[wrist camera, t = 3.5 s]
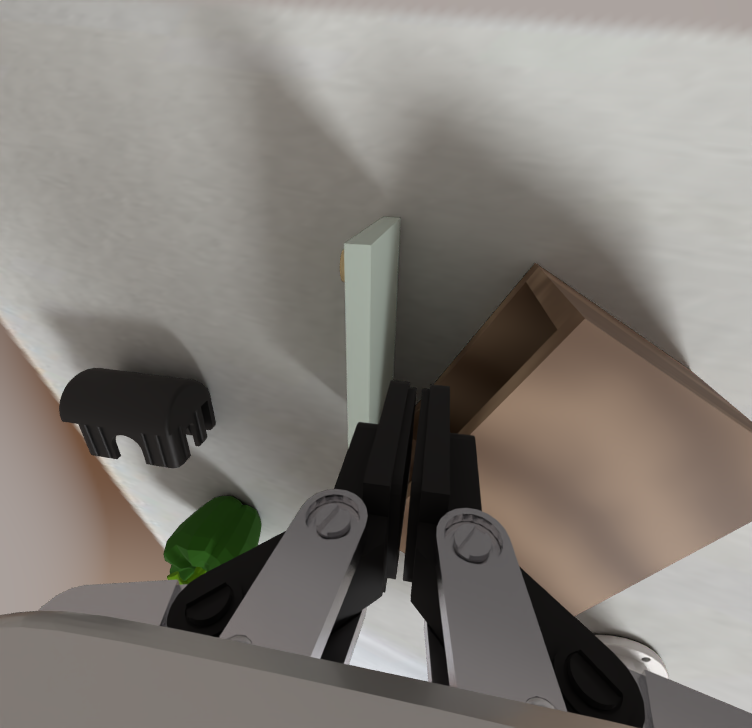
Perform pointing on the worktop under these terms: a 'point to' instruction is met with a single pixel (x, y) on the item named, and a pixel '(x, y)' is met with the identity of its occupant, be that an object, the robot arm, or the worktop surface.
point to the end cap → (138, 413)
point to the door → (370, 318)
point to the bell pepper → (211, 538)
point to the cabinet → (593, 444)
